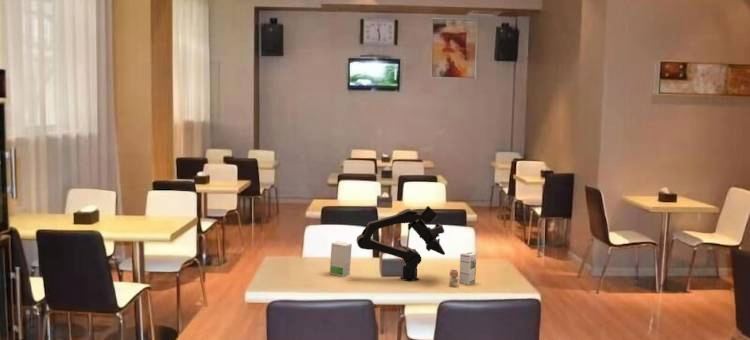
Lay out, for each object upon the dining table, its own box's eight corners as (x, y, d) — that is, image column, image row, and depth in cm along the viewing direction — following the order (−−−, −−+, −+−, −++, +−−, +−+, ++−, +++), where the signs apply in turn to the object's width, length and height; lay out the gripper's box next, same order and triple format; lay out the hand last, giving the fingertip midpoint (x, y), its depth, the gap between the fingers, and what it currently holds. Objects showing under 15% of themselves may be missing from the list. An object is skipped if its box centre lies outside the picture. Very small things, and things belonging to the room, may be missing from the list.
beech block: (449, 286, 325) (449, 278, 325) (449, 284, 329) (449, 275, 329) (457, 287, 325) (458, 278, 324) (457, 285, 329) (458, 276, 328)
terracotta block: (449, 279, 338) (450, 271, 338) (449, 277, 342) (450, 269, 341) (457, 280, 338) (458, 271, 337) (457, 278, 341) (458, 269, 341)
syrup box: (469, 285, 329) (471, 255, 328) (458, 282, 333) (460, 253, 331) (475, 282, 334) (477, 253, 332) (464, 280, 337) (466, 251, 336)
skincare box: (329, 274, 339) (330, 243, 337) (336, 271, 345) (337, 240, 343) (344, 277, 335) (345, 245, 333) (351, 274, 341) (352, 242, 339)
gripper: (434, 222, 323) (457, 247, 323) (435, 215, 341) (457, 239, 341) (416, 238, 324) (439, 263, 325) (418, 230, 343) (440, 253, 343)
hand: (444, 254), depth 333 cm, fingers closed
